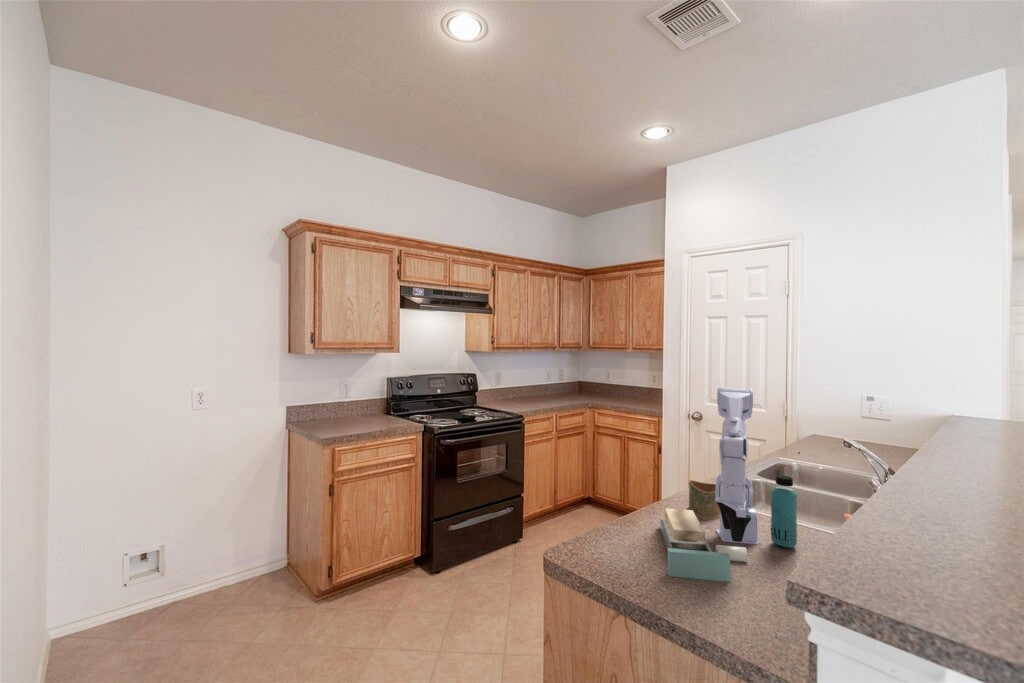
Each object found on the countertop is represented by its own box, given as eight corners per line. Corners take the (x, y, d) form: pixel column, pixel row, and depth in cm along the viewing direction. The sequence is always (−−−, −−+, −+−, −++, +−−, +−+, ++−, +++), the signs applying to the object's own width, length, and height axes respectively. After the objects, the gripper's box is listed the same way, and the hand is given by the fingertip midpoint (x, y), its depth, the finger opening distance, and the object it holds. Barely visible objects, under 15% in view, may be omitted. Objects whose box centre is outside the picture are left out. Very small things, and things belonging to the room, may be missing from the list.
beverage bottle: (794, 544, 129) (794, 474, 129) (800, 554, 123) (801, 481, 123) (768, 541, 131) (768, 472, 131) (773, 551, 125) (773, 478, 125)
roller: (745, 563, 119) (742, 549, 121) (748, 560, 117) (746, 545, 119) (716, 561, 121) (714, 546, 123) (719, 558, 118) (717, 543, 120)
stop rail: (727, 577, 110) (727, 553, 110) (730, 582, 108) (730, 557, 108) (667, 571, 113) (667, 547, 113) (668, 576, 111) (669, 551, 111)
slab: (692, 518, 137) (692, 510, 137) (704, 541, 121) (704, 532, 121) (664, 516, 139) (665, 508, 138) (673, 538, 123) (673, 529, 123)
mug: (747, 525, 143) (747, 486, 143) (687, 518, 148) (687, 481, 148) (740, 511, 154) (740, 476, 154) (684, 506, 159) (685, 471, 159)
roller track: (696, 531, 138) (696, 517, 138) (719, 576, 111) (719, 559, 111) (659, 528, 140) (660, 514, 140) (674, 571, 113) (674, 555, 113)
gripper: (710, 473, 126) (709, 522, 126) (724, 490, 112) (723, 545, 112) (737, 475, 125) (736, 524, 125) (755, 492, 111) (754, 548, 111)
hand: (732, 534), depth 119 cm, fingers open, 7 cm apart
